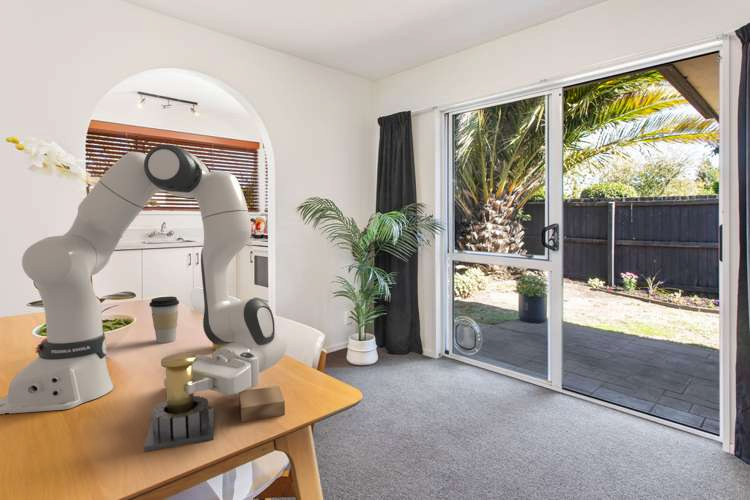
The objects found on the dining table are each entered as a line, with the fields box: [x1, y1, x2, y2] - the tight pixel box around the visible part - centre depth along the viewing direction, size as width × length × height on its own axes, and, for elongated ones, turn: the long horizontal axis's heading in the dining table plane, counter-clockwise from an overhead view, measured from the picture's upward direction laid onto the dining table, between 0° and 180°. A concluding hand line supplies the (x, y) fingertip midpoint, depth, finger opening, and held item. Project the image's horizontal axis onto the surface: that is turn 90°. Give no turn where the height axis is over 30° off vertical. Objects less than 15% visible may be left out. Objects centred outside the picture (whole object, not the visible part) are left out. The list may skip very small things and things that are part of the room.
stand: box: [238, 385, 286, 422], centre depth 94 cm, size 9×9×3 cm
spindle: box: [160, 352, 197, 414], centre depth 85 cm, size 6×6×12 cm
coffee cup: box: [149, 296, 180, 344], centre depth 147 cm, size 9×9×15 cm
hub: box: [143, 395, 215, 453], centre depth 85 cm, size 12×12×5 cm
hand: (176, 386), depth 84 cm, fingers closed on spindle, 5 cm apart
